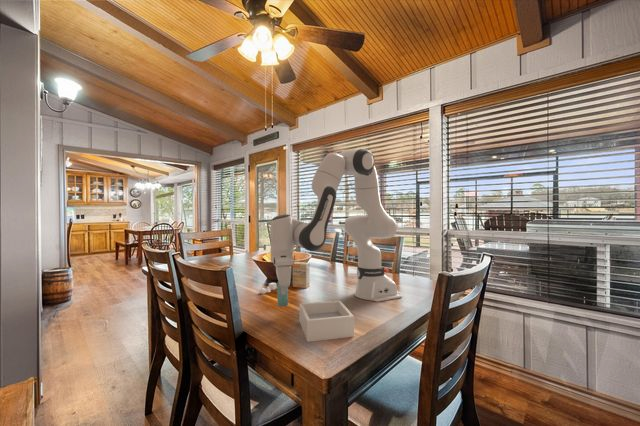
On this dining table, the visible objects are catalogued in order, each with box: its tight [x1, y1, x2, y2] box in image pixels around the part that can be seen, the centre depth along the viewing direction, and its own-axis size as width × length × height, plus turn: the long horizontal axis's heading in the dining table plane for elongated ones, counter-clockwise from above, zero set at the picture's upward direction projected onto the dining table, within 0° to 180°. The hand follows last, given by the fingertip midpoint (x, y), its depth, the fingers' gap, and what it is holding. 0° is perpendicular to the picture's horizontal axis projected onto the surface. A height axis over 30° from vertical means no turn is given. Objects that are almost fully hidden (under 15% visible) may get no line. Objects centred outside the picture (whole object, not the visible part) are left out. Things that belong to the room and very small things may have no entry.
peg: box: [276, 281, 289, 307], centre depth 113 cm, size 4×4×9 cm
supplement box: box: [292, 261, 311, 289], centre depth 154 cm, size 8×5×13 cm, turn 70°
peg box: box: [299, 300, 355, 343], centre depth 103 cm, size 16×16×7 cm
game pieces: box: [259, 282, 277, 295], centre depth 147 cm, size 12×3×3 cm, turn 157°
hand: (282, 291), depth 113 cm, fingers closed on peg, 4 cm apart
